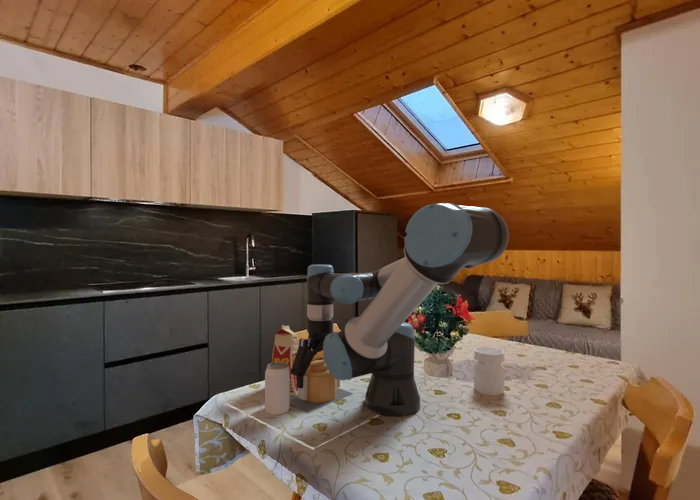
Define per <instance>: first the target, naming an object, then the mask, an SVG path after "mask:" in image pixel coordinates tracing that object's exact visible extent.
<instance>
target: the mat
mask: <svg viewBox="0 0 700 500" xmlns="http://www.w3.org/2000/svg"><path fill="white" fill-rule="evenodd" d="M353 394H354V393H353V392H350V391H348V390H345V389H342V388H340V387H339V388H338V387H337V396H336V398H335V399H333V400H331V401H328V402H320V403H318V402H310V401H307V400H302V399H300V398H298V394H297V395H296V396H291V395H290V407H294V408H295V409H297V410H301V411H303V412H305V413H307V414H308V413H312V411H313V412H314V411H315V410H318V409H320V408H323V407H325V406H327V405H330V404H332V403H334V402H337V401H339V400H343V399H344V398H347V397H349V396H352V395H353Z"/></svg>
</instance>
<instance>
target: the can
mask: <svg viewBox="0 0 700 500" xmlns="http://www.w3.org/2000/svg"><path fill="white" fill-rule="evenodd" d="M264 371H265V372H264V411H265V412H266V413H267V414H269V415H281V414H282V415H283V414H285V413H287V412H289V410H290V409H291V408H290V407H291V405H290V396H291V395H290V370H289V368H288V364H286V363H281V362H277V363H272V362H270V363H268V364H267V365H266V370H264Z"/></svg>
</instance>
